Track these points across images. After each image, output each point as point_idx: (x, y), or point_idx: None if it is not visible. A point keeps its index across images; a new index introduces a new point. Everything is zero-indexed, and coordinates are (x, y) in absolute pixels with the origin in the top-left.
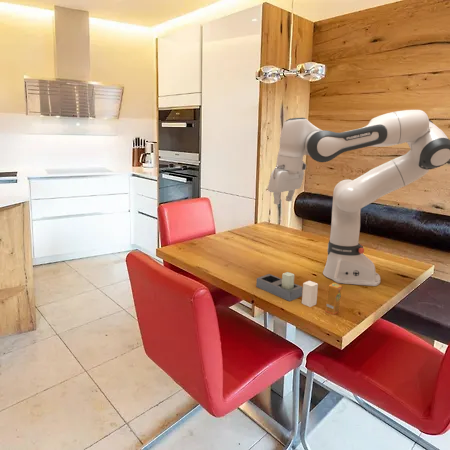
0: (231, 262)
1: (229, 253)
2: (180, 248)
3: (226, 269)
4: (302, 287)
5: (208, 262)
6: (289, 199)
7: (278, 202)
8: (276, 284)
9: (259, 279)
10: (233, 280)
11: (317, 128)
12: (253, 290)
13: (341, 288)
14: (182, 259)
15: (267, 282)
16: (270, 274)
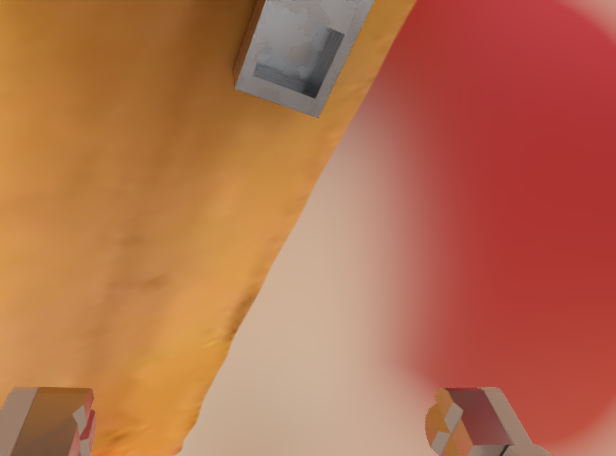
0: (111, 284)
1: (22, 332)
2: (117, 438)
3: (194, 265)
4: None
5: (172, 333)
6: (79, 420)
7: (511, 407)
8: (353, 3)
9: (325, 101)
10: (281, 200)
11: None
12: (338, 97)
13: None
14: (202, 389)
15: (346, 54)
16: (240, 79)
